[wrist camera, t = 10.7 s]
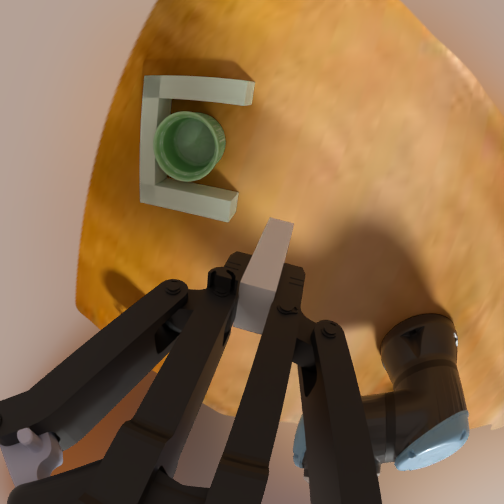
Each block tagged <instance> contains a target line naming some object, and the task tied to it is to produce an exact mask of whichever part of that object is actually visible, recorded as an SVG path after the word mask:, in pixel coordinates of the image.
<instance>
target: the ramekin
mask: <svg viewBox="0 0 504 504" xmlns="http://www.w3.org/2000/svg"><path fill="white" fill-rule="evenodd" d="M225 144H226V140H225V134H224V131H223V129H222V127H221V126H220V124H219V123H218V122H217V121H216V120H215V119H214V118H213V117H211V116H209V115H207V114H204V113H199V112H189V111H181V112H176V113H173V114H171V115H169V116H168V117H166V118H165V119H164V120H163V121H162V122H161V123H160V124H159V126H158V127H157V129H156V132H155V135H154V139H153V150H154V155H155V158H156V160H157V162H158V164H159V166H160V167H161V169H162V170H163V171H164V172H165V173H166V174H168V175H169V176H170V177H172V178H174V179H176V180H180V181H185V182H191V181H196V180H199V179H201V178H203V177H205V176H206V175H207V174H208V173H210V172H211V170H212V169H213V168H214V166H215V165H216V164H217V163H218V161H219V160H220V159H221V157H222V155H223V153H224V150H225Z"/></svg>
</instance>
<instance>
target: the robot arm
mask: <svg viewBox="0 0 504 504" xmlns="http://www.w3.org/2000/svg"><path fill="white" fill-rule="evenodd" d="M293 226H294V223H290V222H286V221H282V220H278V219H274V218H269V220H268V222H267V225H266V227H265V229H264V231H263V233H262V236H261V238H260V240H259V242H258V244H257V246H256V249H255V251H254V253H253V255H249V254H245V253H241V252H238V251H237V252H235V253H233V254H232V255H230V257H229V259H228V260H227V262H226V264H225V265H224V267H216V268H214V269H211V270H210V271H209V272H208V283H207V288H206V289H203V290H191V289H188V287H187V285H186V284H185V283H184V282H183V281H180V280H177V279H170V280H166V281H164V282H162V283H161V284H159V285H158V286H157V287H155V288H154V289H153V290H152V291H150V292H149V293H148V294H146V295H145V296H144V297H142V298H141V299H140V300H139V301H137V302H136V303H135V304H134V305H132V306H131V307H130V308H128V309H127V310H126V311H125V312H123V313H122V314H121V315H120V316H118V317H117V318H116V319H114V320H113V321H112V322H111V323H109V324H108V325H107V326H106V327H104V328H103V329H102V330H101V331H99V332H98V333H97V334H96V335H94V336H93V337H92V338H91V339H90V340H88V341H87V342H86V343H85V344H83V345H82V346H81V347H80V348H78V349H77V350H76V351H75V352H74V353H72V354H71V355H70V356H69V357H68V358H66V359H65V360H64V361H63V362H62V363H61V364H59V365H58V366H57V367H56V368H54V369H53V370H52V371H51V372H50V373H48V374H47V375H46V376H45V377H44V378H42V379H41V380H40V381H39V382H38V383H37V384H35V385H34V386H33V387H32V388H31V389H30V390H28V391H26V392H24V393H21V394H18V395H16V396H13V397H10V398H8V399H5V400H2V401H0V447H1V450H2V453H3V456H4V459H5V462H6V465H7V467H8V470H9V473H10V475H11V478H12V480H13V483H14V485H15V488H14V489H13V490H12V492H11V493H10V495H9V497H8V501H7V504H261V501H262V498H263V495H264V491H265V487H266V484H267V480H268V475H269V468H268V467H269V461H270V457H271V453H272V449H273V445H274V441H275V437H276V433H277V429H278V425H279V420H280V416H281V412H282V407H283V403H284V398H285V393H286V389H287V384H288V379H289V374H290V369H291V364H292V362H294V363H296V364H298V375H299V384H300V392H301V402H302V411H303V414H302V416H301V418H300V421H299V424H298V427H297V431H296V434H295V439H294V446H293V453H294V456H293V459H294V463H295V465H296V466H298V467H300V468H304V479H305V480H306V481H307V482H308V483H309V486H310V500H311V504H382V500H381V494H380V488H379V482H378V476H379V475H380V467H381V464H382V463H387V462H395V464H394V465H395V466H396V468H397V469H398V470H401V471H406V470H414V469H419V468H423V467H426V466H429V465H432V464H434V463H437V462H439V461H441V460H443V459H445V458H447V457H448V456H450V455H452V454H453V453H455V452H456V451H457V450H459V449H460V448H461V447H462V446H463V445H464V443H465V442H466V441H467V439H468V436H469V423H468V415H469V414H468V411H467V408H466V403H465V398H464V394H463V389H462V385H461V381H460V377H459V373H458V370H457V365H456V363H457V345H458V337H457V333H456V330H455V327H454V325H453V323H452V322H451V321H450V320H449V319H448V318H447V317H445V316H442V315H438V314H423V315H418V316H415V317H412V318H409V319H407V320H405V321H403V322H401V323H400V324H398V325H397V326H395V327H394V328H393V329H392V330H391V331H390V332H389V333H388V334H387V335H386V336H385V338H384V340H383V342H382V344H381V360H382V364H383V366H384V368H385V369H386V371H387V373H388V375H389V377H390V380H391V382H392V384H393V389H394V392H388V393H381V394H375V395H367V396H361V395H360V391H359V387H358V383H357V379H356V375H355V371H354V367H353V363H352V360H351V356H350V352H349V349H348V345H347V341H346V338H345V334H344V331H343V329H342V328H341V327H340V326H339V325H338V324H337V323H335V322H333V321H329V320H321V321H319V322H317V323H315V322H313V321H311V320H309V319H308V318H306V317H305V316H304V315H303V313H302V311H301V309H300V305H301V299H302V293H303V286H304V280H305V272H304V270H303V268H302V267H298V266H294V265H290V264H286V263H284V262H285V258H286V254H287V250H288V246H289V242H290V238H291V234H292V230H293ZM233 322H234V324H233ZM232 325H233V327H236V328H240V329H243V330H247V331H250V332H254V333H258V334H261V335H262V336H261V339H260V343H259V346H258V349H257V352H256V355H255V359H254V362H253V365H252V368H251V371H250V374H249V378H248V381H247V384H246V387H245V390H244V393H243V396H242V399H241V402H240V405H239V408H238V411H237V414H236V417H235V420H234V423H233V426H232V429H231V432H230V435H229V438H228V441H227V443H226V446H225V449H224V452H223V455H222V457H221V460H220V462H219V465H218V468H217V470H216V473H215V476H214V479H213V481H212V484H211V487H210V488H202V487H193V486H185V485H182V484H180V483H178V482H177V481H175V480H174V479H173V476H174V474H175V471H176V468H177V464H178V460H179V457H180V454H181V452H182V450H183V447H184V445H185V443H186V440H187V438H188V435H189V433H190V431H191V428H192V426H193V423H194V421H195V419H196V416H197V414H198V411H199V409H200V407H201V404H202V402H203V400H204V397H205V395H206V392H207V390H208V388H209V385H210V383H211V380H212V378H213V375H214V373H215V371H216V368H217V366H218V363H219V361H220V358H221V356H222V354H223V351H224V349H225V346H226V344H227V341H228V339H229V336H230V332H231V327H232ZM169 352H170V353H169ZM168 353H169V354H168ZM167 354H168V356H167V358H166V360H165V361H164V363H163V365H162V367H161V369H160V370H159V372H158V374H157V376H156V377H155V379H154V381H153V383H152V385H151V386H150V388H149V390H148V392H147V394H146V395H145V397H144V399H143V401H142V403H141V404H140V407H139V408H138V410H137V412H136V414H135V415H134V417H133V418H132V419H131V420H129V421H126V422H125V423H124V424H123V425H122V426H121V428H120V429H119V431H118V432H117V434H116V436H115V438H114V440H113V441H112V443H111V445H110V447H109V449H108V451H107V452H106V454H105V456H104V458H103V459H101V460H98V461H95V462H92V463H89V464H87V465H84V466H81V467H78V468H75V469H72V470H69V471H66V472H64V473H60V474H57V475H54V476H50V474H51V472H52V471H53V470H54V469H55V468H56V467H58V466H60V465H61V464H62V463H63V454H62V451H64V450H66V449H68V448H70V447H71V446H73V445H74V444H75V443H77V442H78V441H79V440H80V439H82V438H83V437H84V436H85V435H86V434H87V433H88V432H89V431H90V430H91V429H92V428H93V427H94V426H95V425H96V424H97V423H99V421H101V420H102V418H104V417H105V416H106V415H107V414H108V413H109V412H110V411H111V410H112V409H113V408H114V407H115V406H116V405H117V404H118V403H119V402H120V401H121V400H122V398H124V397H125V396H126V395H127V394H128V393H129V392H130V391H131V390H132V389H133V388H134V387H135V386H136V385H137V384H138V383H139V382H140V381H141V380H142V379H143V378H144V377H145V376H146V375H147V374H148V372H150V371H151V370H152V369H153V368H154V367H155V366H156V365H157V364H158V363H159V362H160V361H161V360H162V359H163V358H164V357H165V356H166V355H167Z"/></svg>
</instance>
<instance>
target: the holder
mask: <svg viewBox="0 0 504 504" xmlns="http://www.w3.org/2000/svg"><path fill="white" fill-rule="evenodd" d="M254 86H255V82H251V81H245V80H236V79H226V78H215V77H200V76H171V75H152V76H144V86H143V98H142V112H141V131H140V202H141V203H146V204H150V205H155V206H159V207H164V208H168V209H173V210H177V211H181V212H186V213H190V214H194V215H198V216H203V217H207V218H211V219H215V220H220V221H224V222H229V221H230V220H231V218H232V217H233V215H234V214H235V213H236V208H237V201H238V193H239V192H235V191H230V190H226V189H221V188H216V187H211V186H206V185H201V184H196V183H191V182H185V181H180V180H176V179H170V178H167V174H166V173H165V172H164V171H163V170H162V169H161V167H160V166H159V164H158V162H157V160H156V158H155V155H154V150H153V139H154V135H155V132H156V129H157V127H158V126H159V124H160V123H161V122H162V121H163V120H164V119H165V118H166V117H168V116H169V115H171V103H172V99H185V100H198V101H208V102H218V103H226V104H234V105H241V106H247V105H252V99H253V92H254Z"/></svg>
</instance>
